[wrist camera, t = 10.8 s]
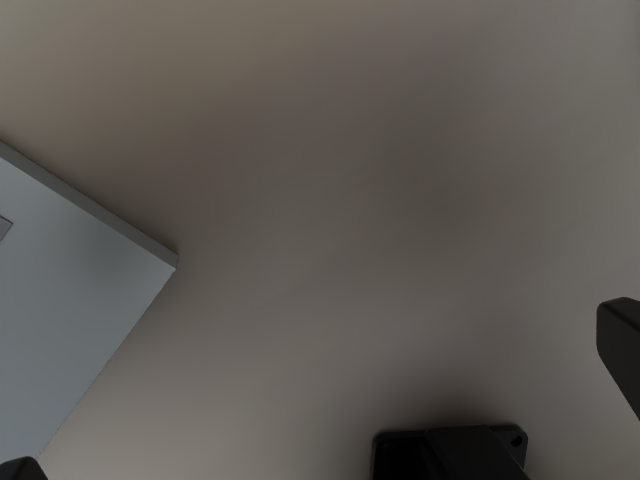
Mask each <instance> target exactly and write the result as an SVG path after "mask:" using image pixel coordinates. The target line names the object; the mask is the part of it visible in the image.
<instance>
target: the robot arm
mask: <svg viewBox="0 0 640 480" xmlns="http://www.w3.org/2000/svg"><path fill="white" fill-rule="evenodd" d="M596 345H597V350H598V353H599V356H600V358H601V360H602V361H603V363H604V365H605V366H606V368H607V369H608V371H609V373H610V374H611V376H612V377H613V379H614V381H615V382H616V384H617V385H618V387H619V389H620V390H621V392H622V393H623V395H624V396H625V398H626V400H627V401H628V403H629V404H630V406H631V408H632V409H633V411H634V412H635V414H636V416H637V417H638V419H639V420H640V301H637V300H634V299H631V298H627V297H620V298H616V299H612V300H609V301H605V302H602V303H601V304H599V306H598V308H597V325H596ZM515 436H517V438H516V439H515V440H513V441H511V440H512V438H514V437H515ZM527 443H528V436H527V434H526V433H525V432H524V431H523V429H522V428H521V427H519V426H517V425H505V426H489V427H488V426H486V425H479V426H463V427H446V428H431V429H429V430H423V431H407V432H390V433H383V434H380V435H378V436H377V437H376V438H375V439H374V441H373V445H372V457H371V469H370V480H531V479H530V478H529V477H528V475H527V474H526V473H525V472H524V470H523V468H524V462H525V456H526V450H527ZM386 444H390V447H389V448H387V449H382V447H383V446H384V445H386ZM0 480H48V478H47V477H46V475H45V474H44V472H43V470H42V469H41V467H40V465H39V464H38V462H37V461H36V460H35V459H34V458H33V457H31V456H24V457H20V458H16V459H13V460H9V461H6V462H3V463H2V464H0Z"/></svg>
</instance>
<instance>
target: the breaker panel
mask: <svg viewBox="0 0 640 480" xmlns="http://www.w3.org/2000/svg"><path fill="white" fill-rule="evenodd" d="M177 261H178V255H177V254H175V253H173V252H172V251H170V250H169V249H167V248H166V247H164V246H163V245H161V244H159V243H158V242H156V241H155V240H153V239H152V238H150V237H149V236H147V235H146V234H144V233H142V232H141V231H139V230H138V229H136V228H135V227H133V226H132V225H130V224H129V223H127V222H125V221H124V220H122V219H121V218H119V217H118V216H116V215H115V214H113V213H111V212H110V211H108V210H107V209H105V208H104V207H102V206H101V205H99V204H98V203H96V202H94V201H93V200H91V199H90V198H88V197H87V196H85V195H84V194H82V193H80V192H79V191H77V190H76V189H74V188H73V187H71V186H70V185H68V184H67V183H65V182H63V181H62V180H60V179H59V178H57V177H56V176H54V175H53V174H51V173H50V172H48V171H46V170H45V169H43V168H42V167H40V166H39V165H37V164H36V163H34V162H32V161H31V160H29V159H28V158H26V157H25V156H23V155H22V154H20V153H19V152H17V151H15V150H14V149H12V148H11V147H9V146H8V145H6V144H5V143H3V142H2V141H0V464H2V463H3V462H6V461H9V460H13V459H16V458H20V457H24V456H31V457H33V458H34V459H35V460H36V458H37V457H38V456H39V454H40V453H41V451H42V450H43V449H44V447H45V446H46V445H47V443H48V442H49V441H50V439H51V438H52V437H53V435H54V434H55V432H56V431H57V430H58V428H59V427H60V426H61V424H62V423H63V422H64V420H65V419H66V418H67V416H68V415H69V414H70V412H71V411H72V409H73V408H74V407H75V405H76V404H77V403H78V401H79V400H80V399H81V397H82V396H83V395H84V393H85V392H86V390H87V389H88V388H89V386H90V385H91V384H92V382H93V381H94V380H95V378H96V377H97V376H98V374H99V373H100V372H101V370H102V369H103V367H104V366H105V365H106V363H107V362H108V361H109V359H110V358H111V357H112V355H113V354H114V353H115V351H116V350H117V349H118V347H119V346H120V344H121V343H122V342H123V340H124V339H125V338H126V336H127V335H128V334H129V332H130V331H131V330H132V328H133V327H134V325H135V324H136V323H137V321H138V320H139V319H140V317H141V316H142V315H143V313H144V312H145V311H146V309H147V308H148V307H149V305H150V304H151V302H152V301H153V300H154V298H155V297H156V296H157V294H158V293H159V292H160V290H161V289H162V288H163V286H164V285H165V283H166V282H167V281H168V279H169V278H170V277H171V275H172V274H173V273H174V271H175V270H176V267H177Z"/></svg>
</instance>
